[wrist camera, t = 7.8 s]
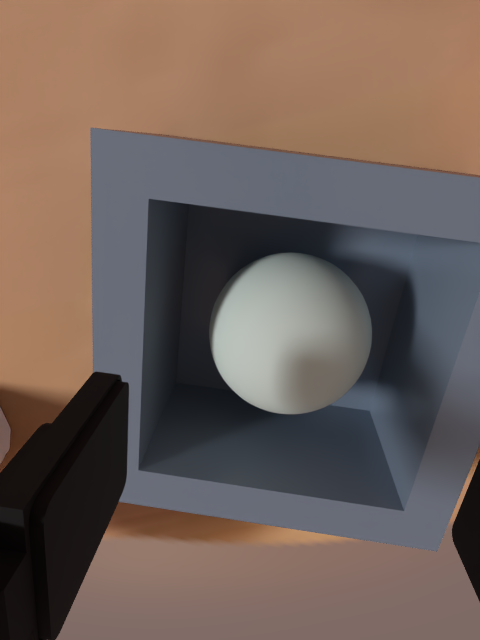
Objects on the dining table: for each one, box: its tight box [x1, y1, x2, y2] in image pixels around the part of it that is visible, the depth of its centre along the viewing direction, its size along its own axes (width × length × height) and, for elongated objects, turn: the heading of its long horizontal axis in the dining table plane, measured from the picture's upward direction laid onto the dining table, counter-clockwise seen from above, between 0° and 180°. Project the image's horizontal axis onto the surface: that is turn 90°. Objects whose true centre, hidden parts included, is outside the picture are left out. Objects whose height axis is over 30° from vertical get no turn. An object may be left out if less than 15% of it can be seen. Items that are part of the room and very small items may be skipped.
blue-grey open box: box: [91, 128, 480, 551], centre depth 17 cm, size 13×13×7 cm
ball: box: [209, 252, 372, 414], centre depth 16 cm, size 6×6×6 cm
